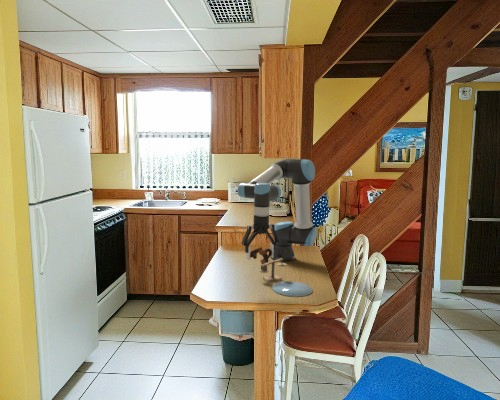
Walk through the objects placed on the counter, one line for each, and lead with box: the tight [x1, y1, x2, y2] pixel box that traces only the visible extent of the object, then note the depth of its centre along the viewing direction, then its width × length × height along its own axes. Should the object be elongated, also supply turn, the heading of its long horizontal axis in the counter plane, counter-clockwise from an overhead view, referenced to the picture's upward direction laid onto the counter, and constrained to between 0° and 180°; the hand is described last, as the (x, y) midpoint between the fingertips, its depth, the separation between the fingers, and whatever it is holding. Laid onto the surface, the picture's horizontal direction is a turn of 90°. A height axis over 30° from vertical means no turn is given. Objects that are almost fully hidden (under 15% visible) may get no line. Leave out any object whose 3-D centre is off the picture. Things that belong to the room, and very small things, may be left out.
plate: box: [272, 281, 313, 298], centre depth 206 cm, size 20×20×1 cm
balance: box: [258, 258, 288, 283], centre depth 218 cm, size 16×5×11 cm, turn 114°
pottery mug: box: [250, 246, 272, 265], centre depth 201 cm, size 12×10×8 cm
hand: (259, 257), depth 202 cm, fingers closed on pottery mug, 12 cm apart
